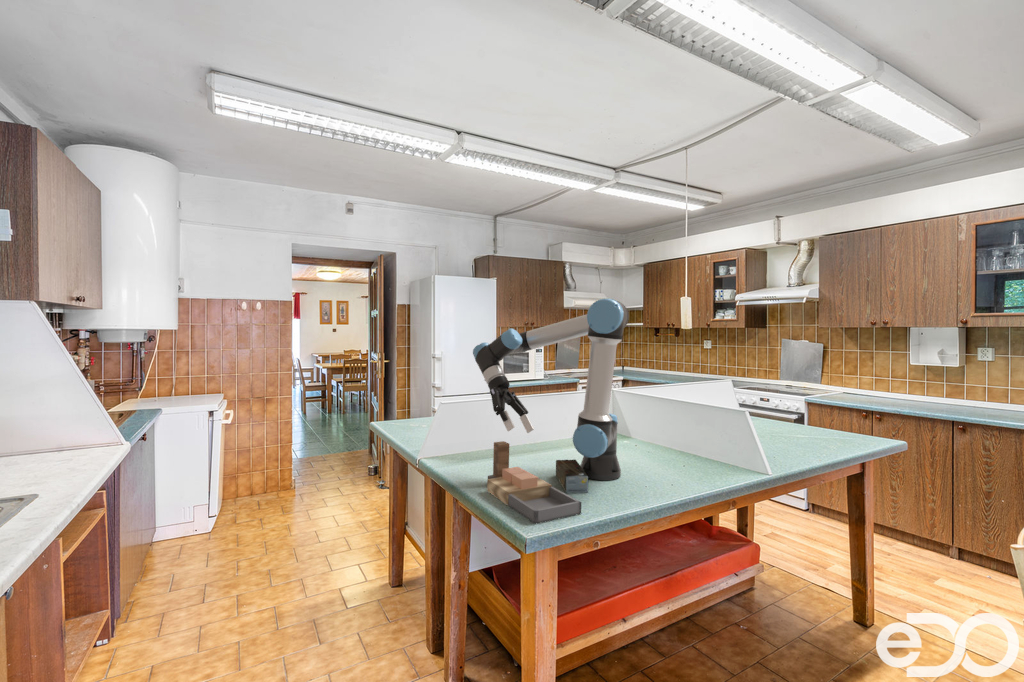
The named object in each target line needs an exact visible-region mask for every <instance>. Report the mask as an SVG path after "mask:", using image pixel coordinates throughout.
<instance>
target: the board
mask: <svg viewBox="0 0 1024 682" xmlns="http://www.w3.org/2000/svg"><path fill="white" fill-rule="evenodd" d="M486 481H487V482H486V483H487V484H486V487H487V488H486V491H488V492H487V493H489V492H490V493H491V495H492V496H493V495H494V497H495V498H496V497H497V499H498V500H499V501H501V502H502V503H504V505H506V506H508V502H509V494H513V495H514V496H516V497H517V498H519V499H520V500H522V501H528V500H533V499H539V498H544V497H549V494H550V487H553V486H552V484H551V483H549V482H547V481H545V480H544V479H541V478H540V477H538V486H537V487H531V488H526V489H520V488H518V487H517V486H515V485H513V484H512V483H510V482H508V481H507V480H505V479H503V478H502V477H499V478H492V479H488V478H487V480H486ZM490 493H489V494H490Z"/></svg>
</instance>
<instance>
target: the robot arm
mask: <svg viewBox="0 0 1024 682" xmlns="http://www.w3.org/2000/svg"><path fill="white" fill-rule="evenodd" d="M629 319H630V316H629V310H628V309H627V307H626V305H624V303H622V302H620V301H617V300H616V299H614V298H601V299H598V300H596V301H594V302H593V303H592V304H590V307H588V310H587V314H583V315H579V316H576V317H572V318H569V319H565V320H562V321H558V322H555V323H551V324H548V325H545V326H542V327H541V326H540V327H538V328H534V329H530V330H527V331H523V332H518V331H517V330H516V329H515V328H511V327H510V328H508V329H507V330H505V331H504V332H502V333H501V334H500V335H499V336H497V338H495V339H494V340H493V341H492V342H490V343H488V342H481V343H479V344H477V345H476V346H474V348H473V349H472V355H473V358H474V360H475V362H476V365H477V366H478V368H479V370H480V371H481V375H482V376H483V378H484V380H483V381H485V383H486V384H487V386H488V389H489V393H490V396H491V402H492V408H493V412H494V413H495V415H496V416H500V418H501V421H502V422H503V425H504V427H505V429H506V430H507V432H510V431H512V430H513V429H514V428H515V425H514V423H513V421H512V418H511V416H510V415H509V413H508V411H507V410H506V405H508V406H510V407H511V409H513V410H514V411H515V412H516V413H517V414H518V416H519V419H520V421H521V423H522V425H523V427H524V429H525V430H526V431H525V432H526V433H527V434H530V433H531V432H532V431H534V430H535V428H534V427H533V425H532V422H531V421H530V419H529V417H528V415H527V414H529V411H528V409H527V408H526V407H525V406H524V404H523V403H522V401H521V400H520V399H519V397H518V396H517V395H516V392H515V391H510V390H509V387H510V381H509V380H508V378H507V376H506V374H505V371H504V370H503V368H502V366H501V364H500V362H501V361H502V360H504V359H505V358H506V357H507V356H509V355H510V354H523V353H526V352H528V351H531V350H535V349H539V348H543V347H547V346H551V345H554V344H558V343H562V342H565V341H569V340H573V339H576V338H581V337H586V336H587V337H588V339H589V340H590V341H591V344H590V350H589V351H590V352H589V362H588V369H587V378H586V386H585V394H584V395H585V396H584V404H583V410H582V411H581V412H579V413H578V416H577V426H576V428H575V430H574V432H573V435H572V444H573V446H574V448H575V450H576V452H578V453H579V454H580V455H582V456H583V457H582V460H581V462H580V464H579V465H580V466H581V467H582V469H583V470H584V472H585V473H586V474H587V476H588V479H591V480H596V481H613V479H614V480H617V478H618V479H619V477H620V478H621V476H622V475H621V474H622V470H621V466H620V462H619V459H618V455H617V448H618V447H617V445H618V444H617V443H618V442H617V439H618V423H619V422H618V416H617V415H616V414H614V413H609V412H610V407H611V405H610V404H611V398H612V397H611V395H612V389H613V380H614V371H615V363H616V362H615V361H616V354H617V346H618V344H619V343H621V342H622V341H623V337H624V335H623V334H624V329H625V328H626V327H627V324H628V322H629Z"/></svg>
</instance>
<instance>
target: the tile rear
mask: <svg viewBox="0 0 1024 682" xmlns="http://www.w3.org/2000/svg"><path fill="white" fill-rule="evenodd" d="M524 472H528V471H527V470H525V469H523V468H521V467H520V466H515V467H509V468H506V469H502V478H503V479H505V480H507V481H508V482H510V483H512V474H517V473H524Z"/></svg>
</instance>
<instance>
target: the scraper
mask: <svg viewBox="0 0 1024 682" xmlns="http://www.w3.org/2000/svg"><path fill="white" fill-rule="evenodd" d="M492 461H493V463H492V464H493V465H492V474H490V475H487V479H492V478H499V477H502V469H506V468H510V442H509V443H508V442H507V441H503V440H502V441H493V459H492Z"/></svg>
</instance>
